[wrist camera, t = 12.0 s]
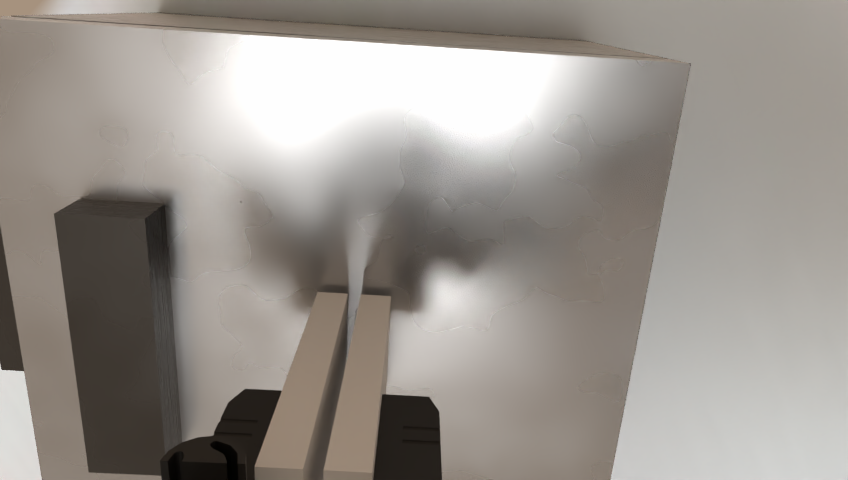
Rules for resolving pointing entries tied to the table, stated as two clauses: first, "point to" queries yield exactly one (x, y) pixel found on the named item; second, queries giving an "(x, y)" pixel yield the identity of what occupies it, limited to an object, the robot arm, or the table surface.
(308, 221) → the lid
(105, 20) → the grey rectangular box
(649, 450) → the table surface
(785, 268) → the table surface
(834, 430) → the table surface
